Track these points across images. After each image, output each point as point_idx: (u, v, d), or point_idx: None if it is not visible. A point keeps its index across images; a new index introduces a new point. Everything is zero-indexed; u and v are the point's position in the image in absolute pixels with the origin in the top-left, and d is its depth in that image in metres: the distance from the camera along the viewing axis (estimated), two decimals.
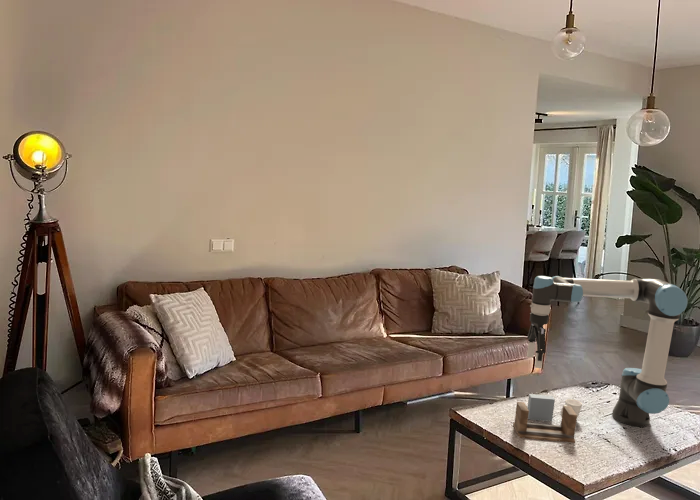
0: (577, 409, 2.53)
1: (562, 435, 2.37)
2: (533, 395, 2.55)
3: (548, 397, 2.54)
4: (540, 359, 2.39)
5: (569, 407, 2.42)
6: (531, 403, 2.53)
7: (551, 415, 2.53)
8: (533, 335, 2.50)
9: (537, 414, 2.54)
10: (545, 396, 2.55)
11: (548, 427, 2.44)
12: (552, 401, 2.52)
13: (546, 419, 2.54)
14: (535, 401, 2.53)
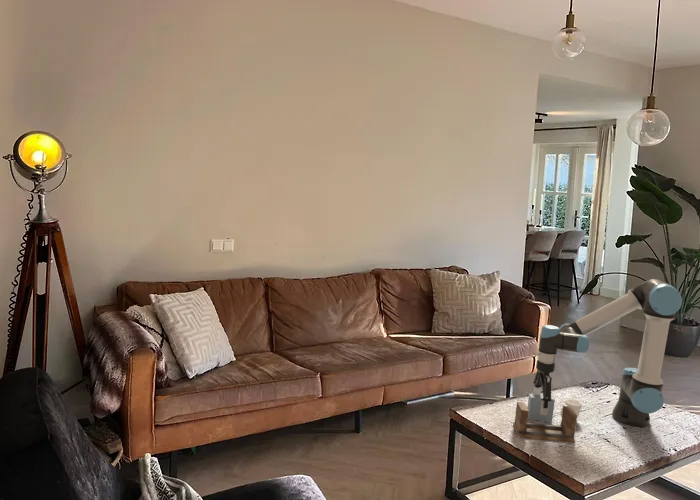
0: (577, 409, 2.53)
1: (562, 435, 2.37)
2: (533, 395, 2.55)
3: None
4: (546, 407, 2.46)
5: (569, 407, 2.42)
6: (531, 403, 2.53)
7: (551, 415, 2.53)
8: (539, 381, 2.58)
9: (537, 414, 2.54)
10: None
11: (548, 427, 2.44)
12: (552, 401, 2.52)
13: (546, 419, 2.54)
14: (535, 401, 2.53)
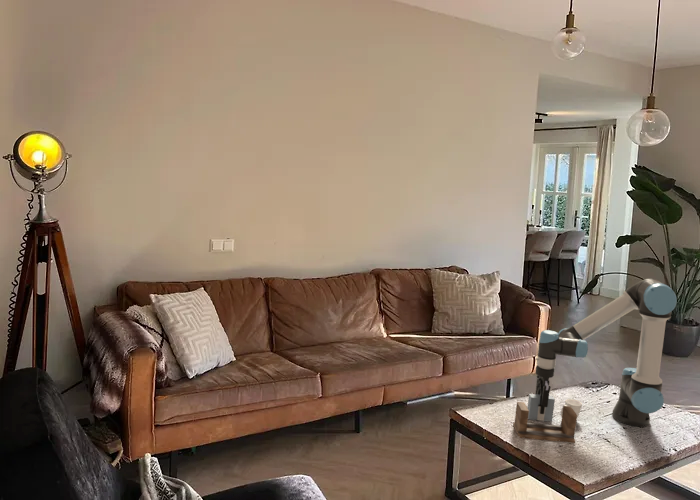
0: (577, 409, 2.53)
1: (562, 435, 2.37)
2: (533, 395, 2.55)
3: None
4: (542, 412, 2.51)
5: (569, 407, 2.42)
6: (531, 403, 2.53)
7: (551, 415, 2.53)
8: (540, 390, 2.56)
9: (537, 414, 2.54)
10: None
11: (548, 427, 2.44)
12: (552, 401, 2.52)
13: (546, 419, 2.54)
14: (535, 401, 2.53)
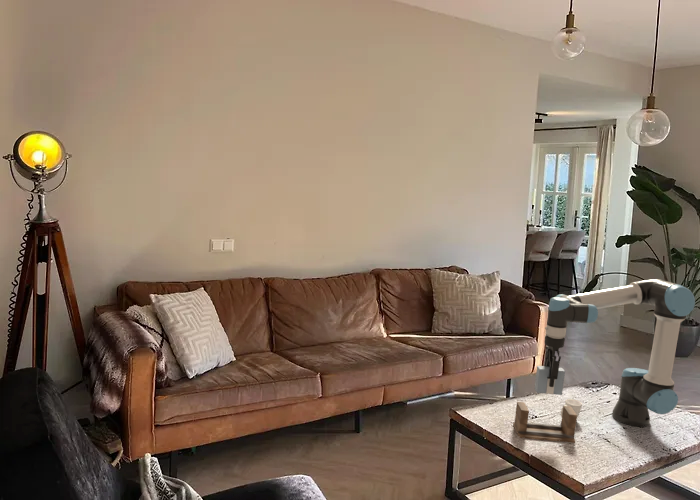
0: (577, 409, 2.53)
1: (562, 435, 2.37)
2: (542, 367, 2.38)
3: None
4: (552, 385, 2.34)
5: (569, 407, 2.42)
6: (539, 375, 2.36)
7: (561, 388, 2.36)
8: (549, 362, 2.39)
9: (546, 387, 2.36)
10: None
11: (548, 427, 2.44)
12: (562, 373, 2.35)
13: (556, 392, 2.36)
14: (544, 373, 2.36)
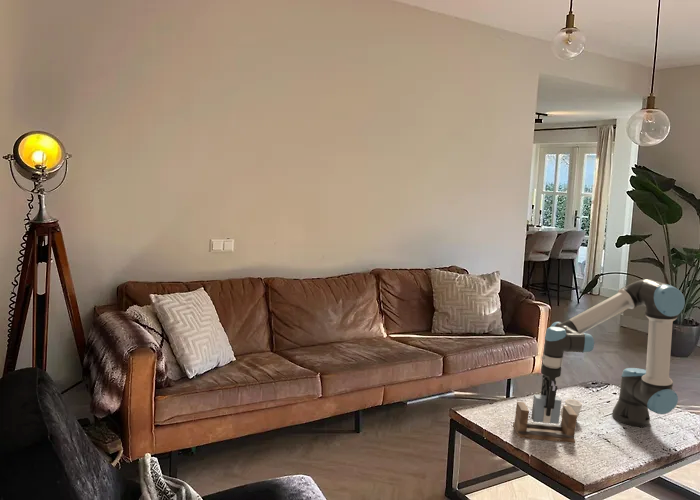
0: (577, 409, 2.53)
1: (562, 435, 2.37)
2: (538, 396, 2.40)
3: None
4: (548, 414, 2.36)
5: (569, 407, 2.42)
6: (536, 404, 2.38)
7: (557, 417, 2.38)
8: (546, 391, 2.40)
9: None
10: None
11: (548, 427, 2.44)
12: (559, 402, 2.37)
13: (552, 421, 2.38)
14: (541, 402, 2.37)
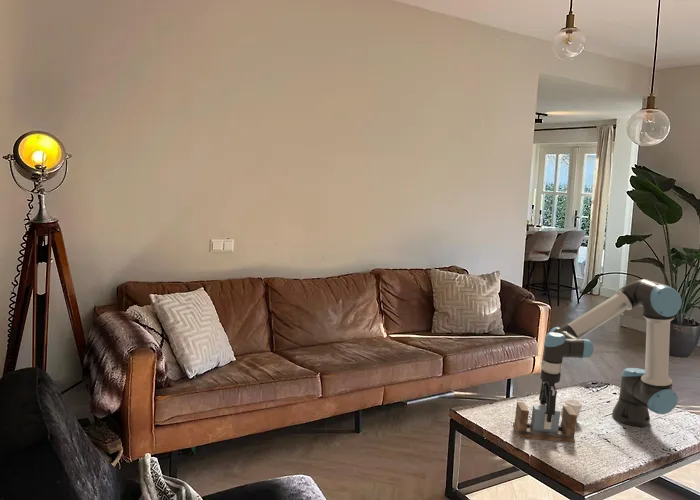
0: (577, 409, 2.53)
1: (562, 435, 2.37)
2: (537, 406, 2.40)
3: None
4: (549, 420, 2.34)
5: (569, 407, 2.42)
6: (535, 415, 2.38)
7: (556, 428, 2.38)
8: (545, 395, 2.42)
9: (542, 426, 2.39)
10: None
11: None
12: (557, 413, 2.38)
13: None
14: (540, 413, 2.38)
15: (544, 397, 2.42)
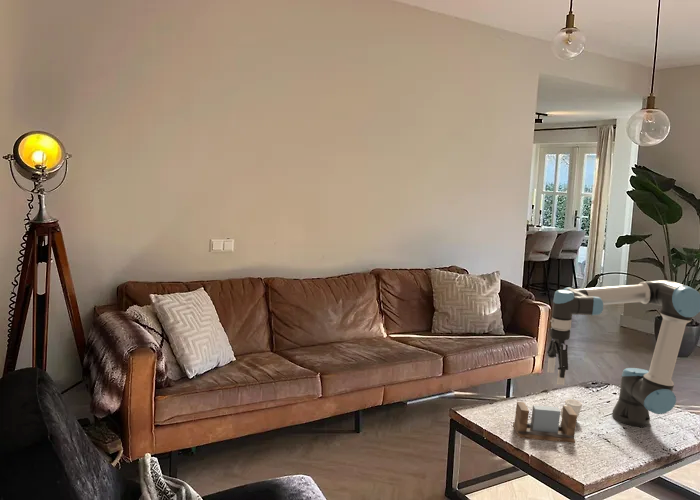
0: (577, 409, 2.53)
1: (562, 435, 2.37)
2: (537, 406, 2.40)
3: (553, 409, 2.39)
4: (562, 376, 2.32)
5: (569, 407, 2.42)
6: (535, 415, 2.38)
7: (556, 428, 2.38)
8: (553, 350, 2.44)
9: (542, 426, 2.39)
10: (550, 408, 2.40)
11: None
12: (557, 413, 2.38)
13: None
14: (540, 413, 2.38)
15: (553, 352, 2.44)
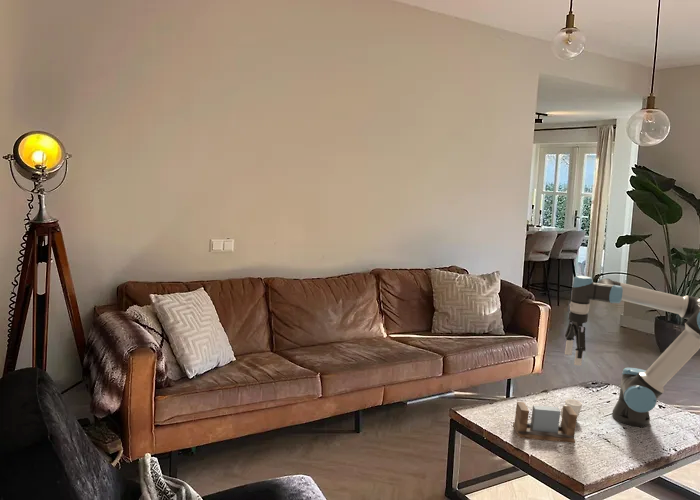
0: (577, 409, 2.53)
1: (562, 435, 2.37)
2: (537, 406, 2.40)
3: (553, 409, 2.39)
4: (580, 357, 2.45)
5: (569, 407, 2.42)
6: (535, 415, 2.38)
7: (556, 428, 2.38)
8: (571, 333, 2.57)
9: (542, 426, 2.39)
10: (550, 408, 2.40)
11: None
12: (557, 413, 2.38)
13: None
14: (540, 413, 2.38)
15: (571, 335, 2.58)
